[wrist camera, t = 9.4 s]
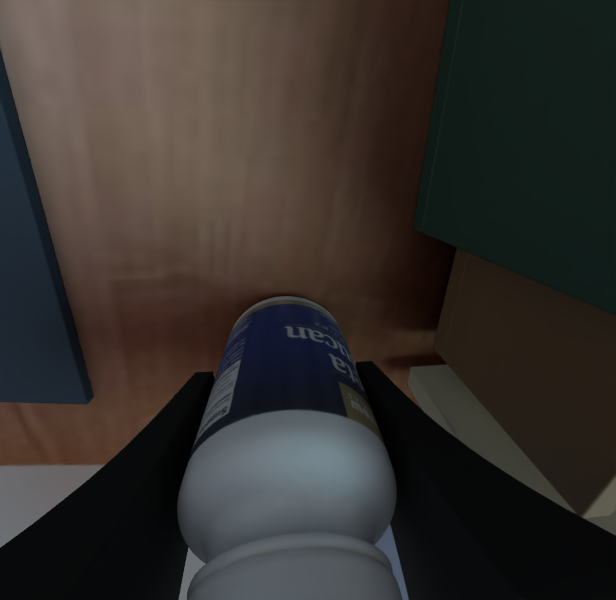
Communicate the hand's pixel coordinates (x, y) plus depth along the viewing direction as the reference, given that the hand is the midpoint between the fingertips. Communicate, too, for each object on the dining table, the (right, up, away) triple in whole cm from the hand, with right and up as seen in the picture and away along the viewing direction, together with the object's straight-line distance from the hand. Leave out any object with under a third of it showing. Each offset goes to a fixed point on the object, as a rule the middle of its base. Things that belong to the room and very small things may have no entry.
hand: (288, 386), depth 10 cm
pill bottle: (0, +1, +3) cm, 3 cm away
